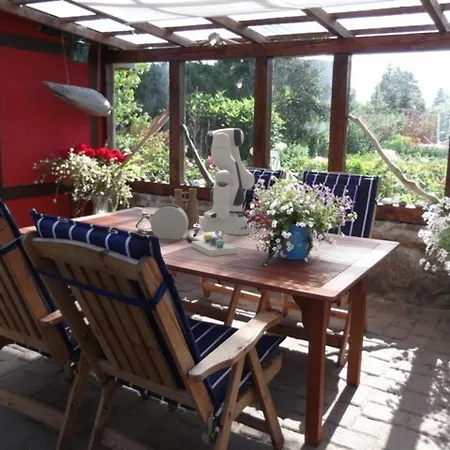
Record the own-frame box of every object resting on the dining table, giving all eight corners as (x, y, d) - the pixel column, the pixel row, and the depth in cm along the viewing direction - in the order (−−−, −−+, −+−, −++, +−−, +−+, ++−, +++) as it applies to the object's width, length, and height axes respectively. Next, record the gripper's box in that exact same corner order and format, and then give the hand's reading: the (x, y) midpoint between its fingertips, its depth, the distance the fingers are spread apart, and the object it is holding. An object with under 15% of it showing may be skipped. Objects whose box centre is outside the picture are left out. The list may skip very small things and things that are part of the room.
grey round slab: (188, 237, 315) (189, 204, 311) (186, 239, 308) (186, 206, 304) (153, 235, 317) (153, 202, 313) (150, 237, 310) (150, 204, 306)
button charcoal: (215, 245, 288) (215, 236, 287) (219, 247, 284) (220, 238, 283) (207, 245, 286) (208, 237, 285) (211, 247, 282) (212, 239, 281)
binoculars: (194, 224, 353) (195, 187, 348) (202, 227, 345) (203, 189, 340) (167, 227, 341) (167, 188, 336) (174, 230, 333) (175, 190, 328)
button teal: (221, 248, 282) (222, 239, 281) (226, 250, 278) (226, 241, 277) (213, 248, 280) (214, 240, 279) (218, 250, 276) (218, 242, 275)
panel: (217, 244, 299) (217, 239, 298) (236, 253, 280) (236, 247, 279) (191, 246, 291) (191, 241, 290) (209, 255, 272) (210, 250, 272)
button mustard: (209, 242, 294) (209, 234, 293) (213, 244, 290) (213, 235, 289) (201, 243, 292) (202, 234, 291) (205, 244, 288) (206, 236, 287)
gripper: (235, 211, 283) (234, 236, 286) (200, 213, 273) (200, 239, 276) (241, 213, 278) (239, 239, 280) (206, 215, 268) (205, 241, 270)
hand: (219, 239), depth 278 cm, fingers closed
